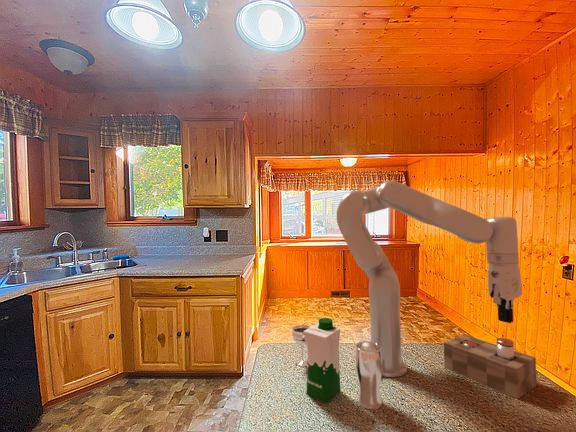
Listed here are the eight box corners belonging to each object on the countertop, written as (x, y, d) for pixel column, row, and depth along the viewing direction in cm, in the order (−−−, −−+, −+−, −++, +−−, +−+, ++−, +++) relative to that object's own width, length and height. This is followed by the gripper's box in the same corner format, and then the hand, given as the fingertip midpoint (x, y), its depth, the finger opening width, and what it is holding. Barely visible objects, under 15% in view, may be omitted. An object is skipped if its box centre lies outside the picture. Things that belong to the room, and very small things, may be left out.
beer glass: (383, 396, 79) (381, 342, 80) (383, 413, 73) (381, 353, 73) (357, 392, 82) (356, 339, 82) (355, 407, 75) (353, 350, 75)
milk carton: (344, 391, 82) (343, 321, 83) (327, 407, 76) (325, 331, 76) (319, 380, 88) (318, 315, 88) (301, 394, 81) (299, 323, 82)
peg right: (510, 371, 82) (509, 344, 82) (494, 365, 85) (493, 339, 85) (517, 367, 84) (516, 341, 84) (501, 361, 87) (500, 336, 87)
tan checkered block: (517, 399, 77) (516, 369, 77) (444, 367, 94) (443, 342, 94) (536, 385, 83) (535, 357, 83) (464, 357, 100) (464, 334, 100)
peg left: (473, 371, 90) (472, 347, 90) (460, 366, 94) (460, 342, 94) (480, 368, 92) (479, 344, 92) (467, 362, 96) (466, 340, 96)
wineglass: (293, 358, 102) (292, 325, 102) (312, 359, 102) (311, 325, 102) (292, 368, 95) (291, 332, 96) (312, 369, 95) (311, 332, 95)
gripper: (504, 263, 78) (508, 331, 77) (529, 257, 85) (532, 319, 85) (475, 260, 84) (478, 323, 84) (500, 255, 92) (503, 313, 91)
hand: (505, 321), depth 84 cm, fingers closed
